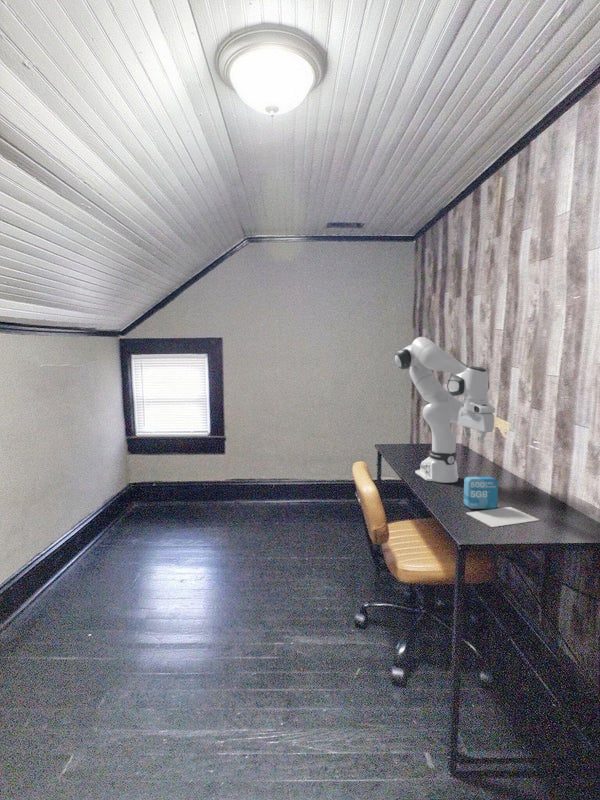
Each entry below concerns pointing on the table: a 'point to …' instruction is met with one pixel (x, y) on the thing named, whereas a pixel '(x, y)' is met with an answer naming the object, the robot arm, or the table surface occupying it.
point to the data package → (480, 492)
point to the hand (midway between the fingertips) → (474, 439)
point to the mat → (502, 517)
